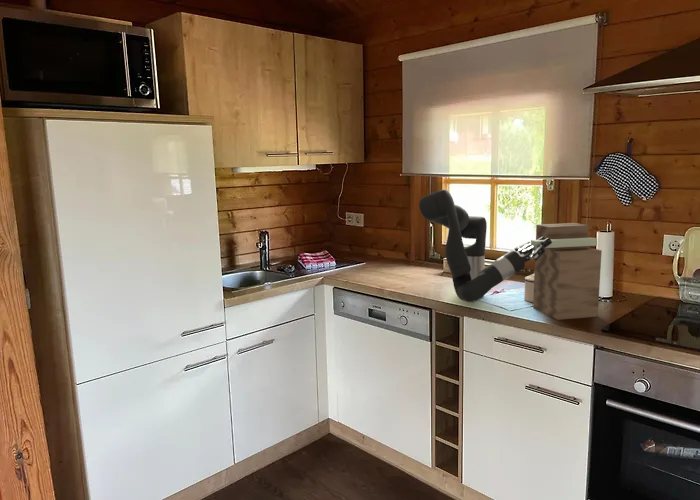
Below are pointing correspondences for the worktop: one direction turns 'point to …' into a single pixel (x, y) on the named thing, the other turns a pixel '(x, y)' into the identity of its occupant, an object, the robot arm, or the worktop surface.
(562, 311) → the brown wooden tall block
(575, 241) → the sage slat
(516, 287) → the worktop surface
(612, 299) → the worktop surface
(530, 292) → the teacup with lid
